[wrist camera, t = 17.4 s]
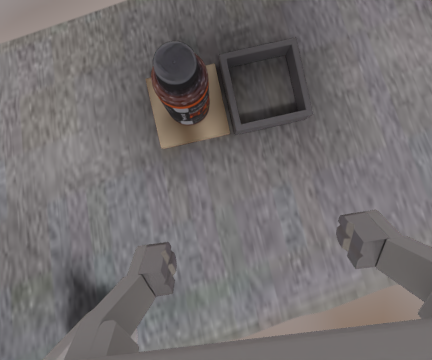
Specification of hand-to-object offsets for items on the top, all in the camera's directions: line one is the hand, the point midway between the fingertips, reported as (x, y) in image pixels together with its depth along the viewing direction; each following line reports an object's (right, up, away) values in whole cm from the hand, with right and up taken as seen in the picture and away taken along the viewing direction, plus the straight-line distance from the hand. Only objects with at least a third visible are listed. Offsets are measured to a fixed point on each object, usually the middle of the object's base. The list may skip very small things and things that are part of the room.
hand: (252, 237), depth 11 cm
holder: (+5, +16, +21) cm, 27 cm away
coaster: (-6, +13, +21) cm, 26 cm away
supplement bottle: (-6, +13, +20) cm, 25 cm away
